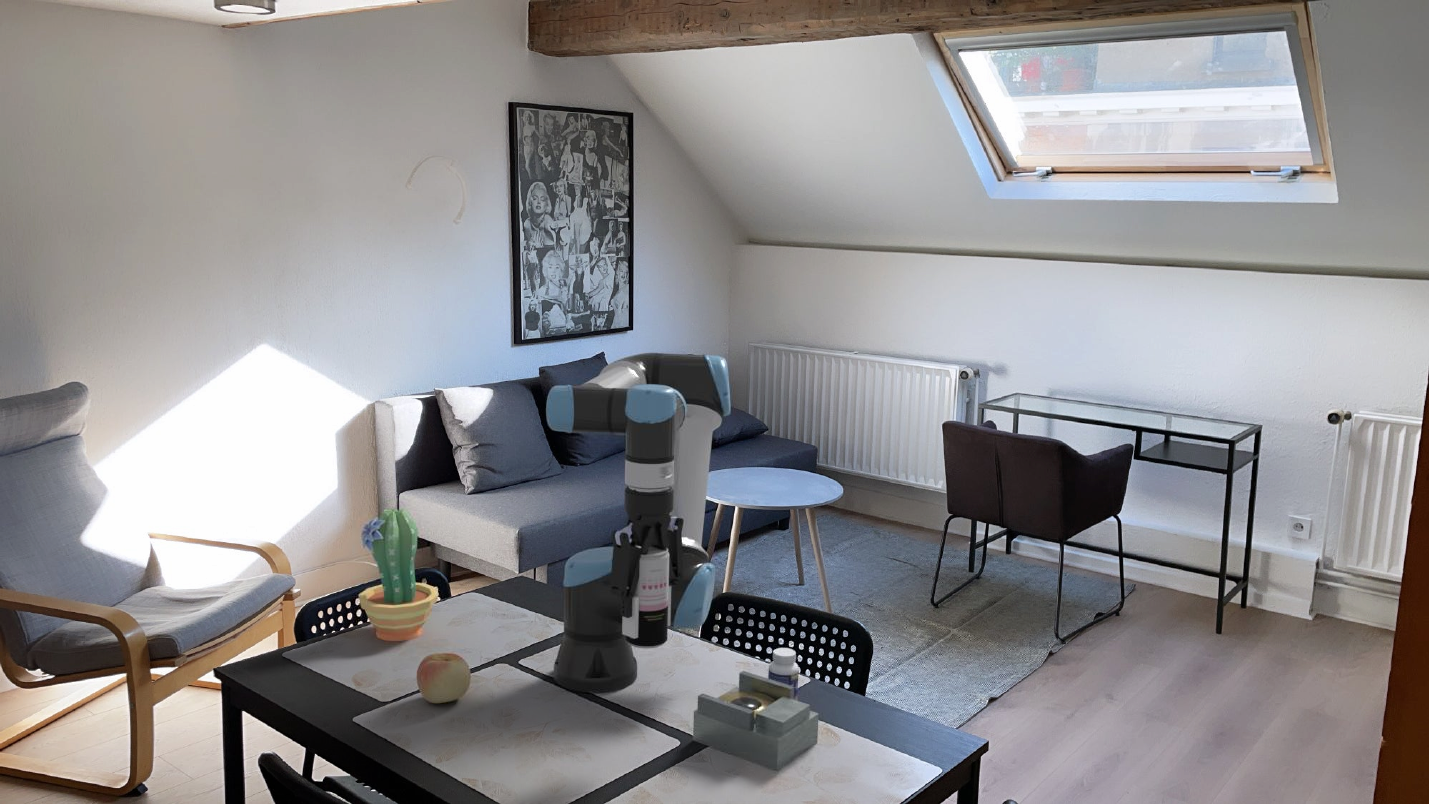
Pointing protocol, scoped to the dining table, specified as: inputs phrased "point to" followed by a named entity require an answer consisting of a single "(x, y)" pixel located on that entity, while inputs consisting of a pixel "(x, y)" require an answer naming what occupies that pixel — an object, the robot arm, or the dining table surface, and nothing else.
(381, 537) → the potted cactus
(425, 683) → the apple
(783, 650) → the pill bottle
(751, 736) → the brass dish housing
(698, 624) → the robot arm
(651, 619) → the beverage can
